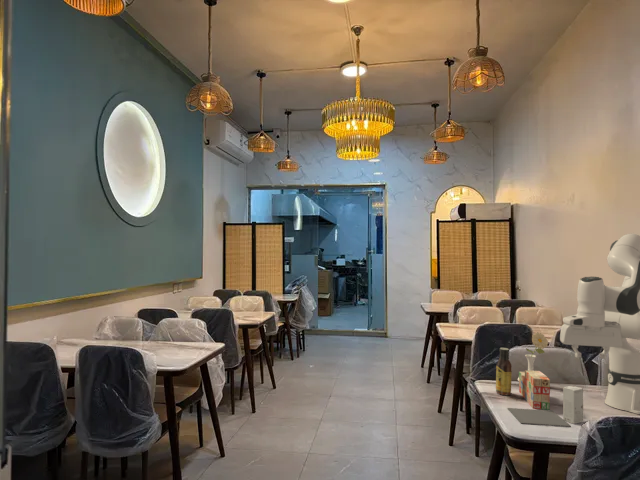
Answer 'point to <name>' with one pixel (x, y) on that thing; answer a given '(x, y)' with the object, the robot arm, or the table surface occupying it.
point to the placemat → (538, 417)
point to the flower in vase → (540, 343)
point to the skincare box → (573, 404)
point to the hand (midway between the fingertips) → (590, 357)
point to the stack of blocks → (535, 389)
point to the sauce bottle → (503, 373)
